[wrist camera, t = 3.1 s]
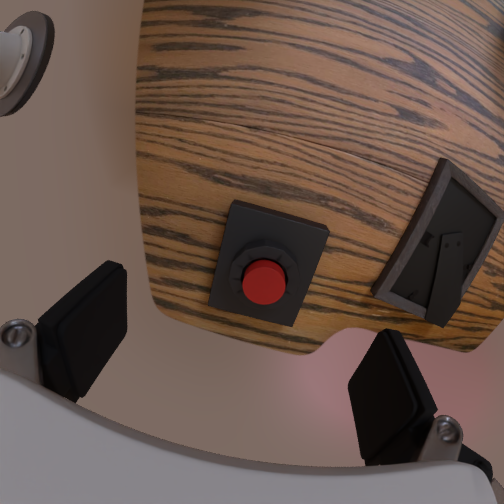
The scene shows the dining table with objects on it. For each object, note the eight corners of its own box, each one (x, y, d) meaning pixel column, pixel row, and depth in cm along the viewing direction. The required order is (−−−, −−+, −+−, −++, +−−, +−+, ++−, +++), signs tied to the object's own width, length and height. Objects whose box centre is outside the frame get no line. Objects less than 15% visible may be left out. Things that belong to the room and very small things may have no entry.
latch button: (277, 299, 29) (278, 309, 27) (240, 289, 28) (238, 298, 27) (290, 265, 27) (291, 273, 25) (249, 254, 27) (248, 262, 25)
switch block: (291, 316, 34) (292, 337, 30) (211, 295, 33) (203, 314, 30) (326, 225, 29) (333, 237, 25) (234, 198, 29) (228, 207, 25)
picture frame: (437, 320, 33) (499, 211, 26) (443, 328, 31) (508, 215, 24) (370, 290, 31) (440, 157, 25) (375, 299, 30) (449, 159, 23)
